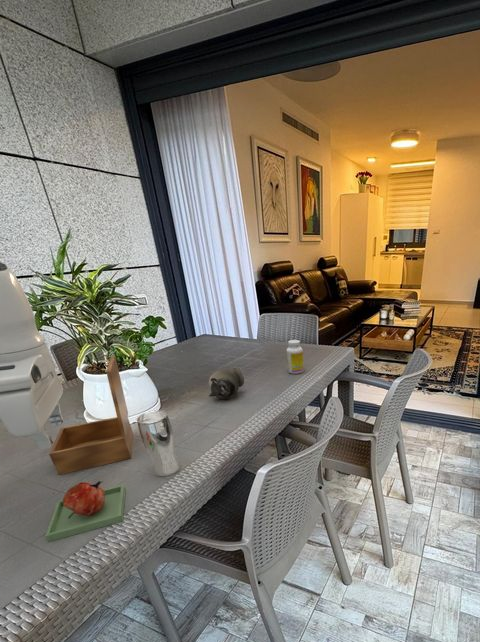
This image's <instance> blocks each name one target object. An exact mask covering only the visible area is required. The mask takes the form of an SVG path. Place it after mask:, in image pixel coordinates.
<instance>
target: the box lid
mask: <svg viewBox="0 0 480 642" xmlns="http://www.w3.org/2000/svg"><path fill="white" fill-rule="evenodd" d="M105 373H106V377H107V381H108V384H109V389H110V394H111V398H112V402H113V407H114V409H115V414H116V417H117V419H118V423H119V427H120V431H121V435H122V437H124V436H126V428H127V419H128V420H129V411H128V407H127V402H126V398H125V393H124V388H123V384H122V379H121V376H120V370H119V366H118V362H117V357H116V354H111V355H110V358H109V361H108V364H107V368H106V371H105Z"/></svg>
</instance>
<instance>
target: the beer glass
mask: <svg viewBox="0 0 480 642" xmlns="http://www.w3.org/2000/svg"><path fill="white" fill-rule="evenodd" d="M136 422H137V427H138V432H139V435H140V438H141V441H142V443H143V445H144V447H145V449H146V450H147V452H148V454H149V456H150V458H151V459H152V463H153V470H154V475H156V476H158V477H168V476H172V475H174V474H176V473H177V472H179V470H180V469H181V464H180V461H179V460H178V458H177V455H176V451H175V437H174V436H175V435H174V431H173V427H172V424H171V421H170V418H169V416H168V413H167V412H166V411H165V410H158V409H157V410H151V411H147V412H144V413H142V414H140V415H138V417H137V418H136Z"/></svg>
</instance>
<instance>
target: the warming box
mask: <svg viewBox="0 0 480 642" xmlns="http://www.w3.org/2000/svg"><path fill="white" fill-rule="evenodd" d="M133 441H134V432H133V428H132V426H131V422H130V420H129V418H128V419H127V428H126V436H124V437H122V435H121V431H120V427H119V423H118V419H117V416H116V417H109V418H106V419H100V420H95V421H90V422H84V423H78V424H74V425H68V426H63V427H60V429H59V431H58V433H57V436H56V437H55V439H54V441H53V444H52V446H51V448H50V450H49V453H48V455H49V457H50V460H51V462H52V463H53V465H54V467H55V470H56V472H57V473H58V475H66V474H70V473H73V472H77V471H83V470H87V469H91V468H95V467H100V466H104V465H108V464H112V463H117V462H122V461H125V460H130V459H132V458H133V457H132V455H133Z"/></svg>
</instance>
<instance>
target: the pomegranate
mask: <svg viewBox="0 0 480 642" xmlns="http://www.w3.org/2000/svg"><path fill="white" fill-rule="evenodd" d="M102 483H104V481H103V480H99V481H97V482H96V483H94V484H93V483H92V482H89V481H81V482H78V483H76V484H75V485H73V486H71V487H70V488H69V489H67V491H66V493H65V494H64V496H63V499H62V500H63V505H64V506H65V507H66V508H68V509H70V510H72V511H73V513H72V514H71V515H70V516H69V517H68V518H70V517H71V516H72V515H73V514H74V513H75V514H79V515H86V516H92V515H94V514H95V513H97V512H98V511H99V510H100V509H101V508H102V507H103V505H104V503H105V493H104V488H103V487H101V486H100V485H101V484H102Z"/></svg>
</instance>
